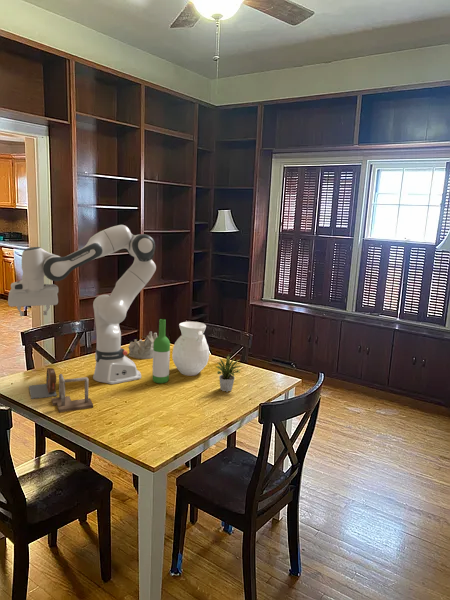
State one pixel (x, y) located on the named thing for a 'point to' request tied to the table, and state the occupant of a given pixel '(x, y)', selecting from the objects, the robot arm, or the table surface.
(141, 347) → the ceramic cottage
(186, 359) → the white ceramic vase
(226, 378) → the house plant
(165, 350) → the wine bottle
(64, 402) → the buzz wire frame
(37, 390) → the mat
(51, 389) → the tin
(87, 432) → the table surface
